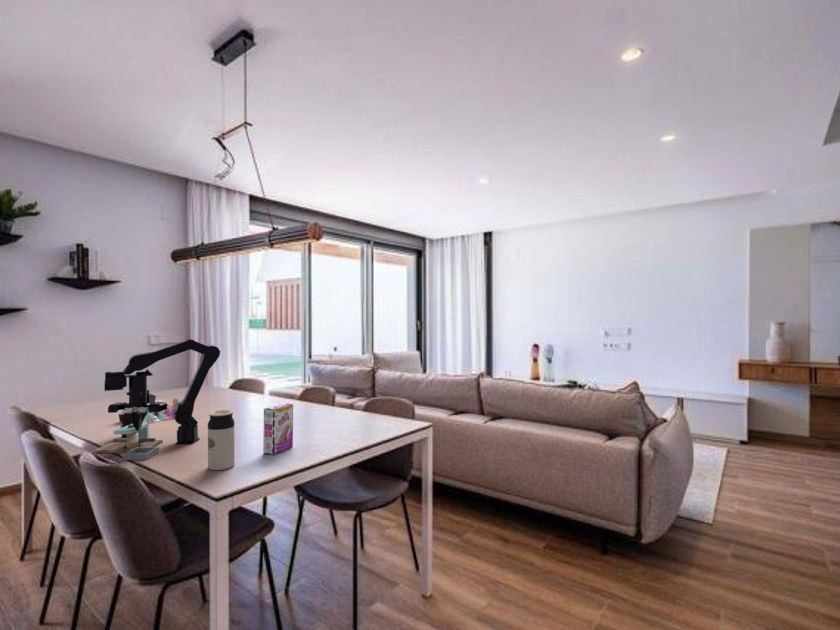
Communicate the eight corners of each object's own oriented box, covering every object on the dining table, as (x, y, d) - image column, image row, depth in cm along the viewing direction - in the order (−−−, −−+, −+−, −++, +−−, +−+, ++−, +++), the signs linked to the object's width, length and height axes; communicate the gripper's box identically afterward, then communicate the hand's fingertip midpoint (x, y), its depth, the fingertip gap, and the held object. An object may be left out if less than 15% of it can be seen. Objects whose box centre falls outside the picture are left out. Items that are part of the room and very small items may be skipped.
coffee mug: (121, 434, 187) (121, 410, 187) (145, 432, 190) (145, 409, 190) (113, 442, 176) (113, 416, 176) (139, 439, 179) (139, 414, 179)
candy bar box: (274, 455, 158) (273, 409, 158) (262, 454, 160) (262, 408, 160) (294, 446, 169) (293, 403, 169) (283, 445, 171) (282, 402, 170)
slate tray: (158, 452, 162) (158, 447, 162) (146, 459, 154) (146, 453, 154) (136, 452, 162) (136, 447, 162) (122, 460, 154) (122, 454, 154)
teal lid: (148, 437, 174) (148, 421, 174) (130, 445, 163) (130, 428, 163) (132, 437, 174) (132, 421, 174) (113, 446, 163) (113, 428, 163)
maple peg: (140, 447, 168) (140, 432, 168) (134, 450, 165) (134, 434, 165) (130, 448, 168) (130, 432, 168) (124, 451, 164) (124, 434, 164)
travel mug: (230, 461, 153) (229, 408, 152) (238, 467, 146) (237, 412, 146) (205, 466, 147) (204, 411, 147) (212, 472, 141) (211, 415, 141)
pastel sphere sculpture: (145, 413, 230) (145, 395, 230) (191, 413, 230) (191, 395, 230) (112, 425, 205) (111, 405, 205) (163, 425, 205) (163, 405, 205)
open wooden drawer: (162, 442, 175) (162, 437, 175) (144, 452, 163) (144, 446, 163) (115, 443, 174) (115, 438, 174) (93, 453, 162) (93, 447, 162)
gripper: (174, 384, 175) (174, 424, 175) (125, 385, 174) (125, 425, 174) (159, 389, 164) (159, 432, 164) (106, 390, 163) (106, 432, 163)
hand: (138, 430), depth 166 cm, fingers closed
